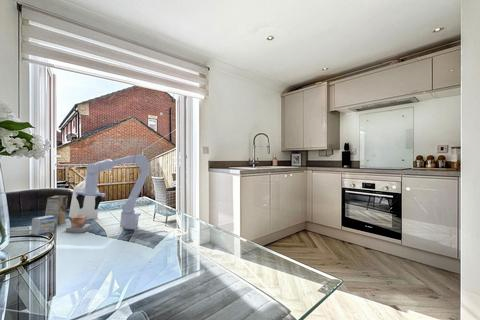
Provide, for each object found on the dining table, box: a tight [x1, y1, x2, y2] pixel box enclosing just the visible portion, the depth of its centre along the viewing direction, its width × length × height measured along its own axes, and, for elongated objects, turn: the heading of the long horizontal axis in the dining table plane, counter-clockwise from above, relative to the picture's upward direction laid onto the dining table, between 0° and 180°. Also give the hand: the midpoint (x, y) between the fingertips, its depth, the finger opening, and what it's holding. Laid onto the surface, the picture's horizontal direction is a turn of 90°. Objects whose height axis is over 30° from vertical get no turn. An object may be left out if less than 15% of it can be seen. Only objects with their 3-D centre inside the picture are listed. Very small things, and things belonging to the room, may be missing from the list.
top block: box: [65, 223, 92, 234], centre depth 121 cm, size 8×8×2 cm
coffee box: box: [44, 194, 69, 227], centre depth 127 cm, size 9×6×16 cm
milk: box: [68, 176, 100, 221], centre depth 148 cm, size 12×12×26 cm
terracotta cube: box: [70, 215, 87, 227], centre depth 121 cm, size 5×5×5 cm
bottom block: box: [63, 227, 93, 234], centre depth 121 cm, size 10×10×2 cm
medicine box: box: [30, 215, 56, 236], centre depth 113 cm, size 8×4×9 cm, turn 168°
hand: (88, 208), depth 130 cm, fingers open, 7 cm apart
